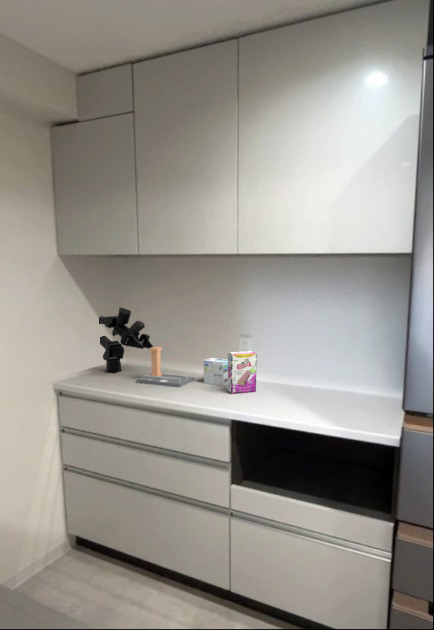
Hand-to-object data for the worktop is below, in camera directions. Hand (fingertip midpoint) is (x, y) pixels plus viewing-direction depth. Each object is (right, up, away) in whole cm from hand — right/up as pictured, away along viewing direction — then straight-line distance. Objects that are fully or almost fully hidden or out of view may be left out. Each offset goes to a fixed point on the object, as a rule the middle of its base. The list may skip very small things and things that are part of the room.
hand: (148, 348), depth 204 cm
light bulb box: (+32, -15, -10) cm, 37 cm away
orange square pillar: (+4, -13, -5) cm, 14 cm away
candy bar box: (+43, -16, -25) cm, 52 cm away
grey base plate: (+9, -15, -7) cm, 18 cm away
